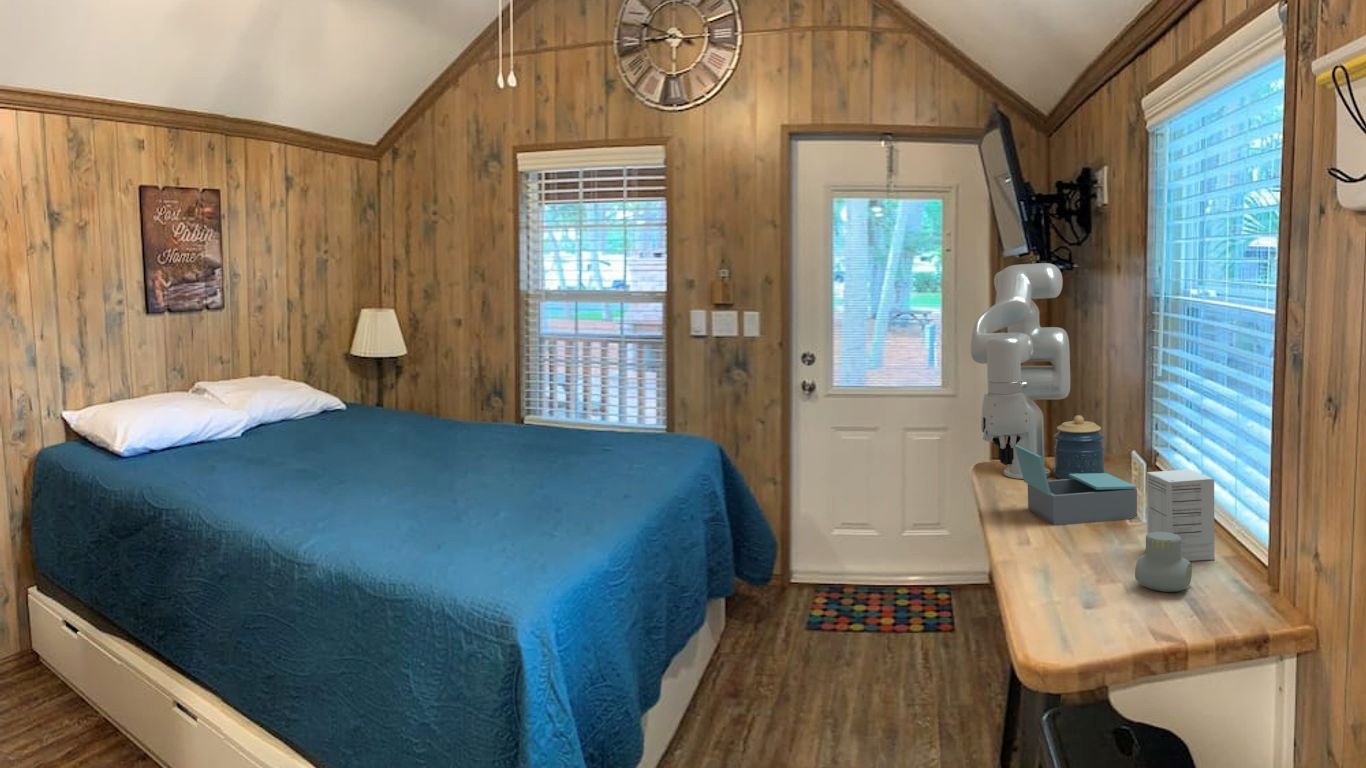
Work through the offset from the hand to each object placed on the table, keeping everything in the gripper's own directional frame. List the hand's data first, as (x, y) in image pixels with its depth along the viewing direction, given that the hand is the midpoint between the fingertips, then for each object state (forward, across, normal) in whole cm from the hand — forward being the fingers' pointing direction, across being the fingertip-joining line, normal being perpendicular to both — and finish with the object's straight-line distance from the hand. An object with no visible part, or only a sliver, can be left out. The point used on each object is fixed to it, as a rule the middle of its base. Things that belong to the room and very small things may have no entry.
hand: (1006, 463), depth 210 cm
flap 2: (+7, -23, 0) cm, 24 cm away
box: (+14, -18, 0) cm, 23 cm away
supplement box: (+14, -23, +32) cm, 42 cm away
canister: (+14, -34, -33) cm, 49 cm away
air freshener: (+14, -10, +48) cm, 51 cm away
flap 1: (+2, -7, 0) cm, 7 cm away
